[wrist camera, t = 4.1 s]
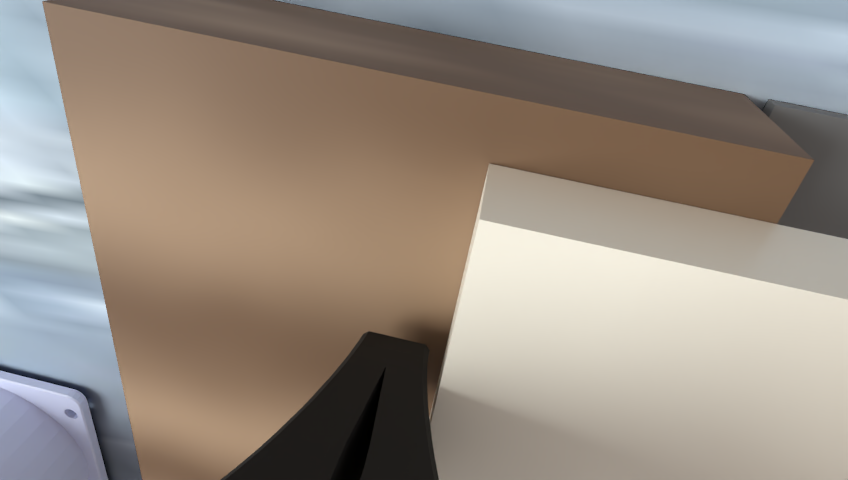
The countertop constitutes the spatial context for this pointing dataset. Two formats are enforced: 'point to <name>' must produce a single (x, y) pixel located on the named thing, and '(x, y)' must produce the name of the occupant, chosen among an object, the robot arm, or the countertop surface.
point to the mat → (817, 167)
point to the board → (336, 190)
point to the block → (641, 342)
